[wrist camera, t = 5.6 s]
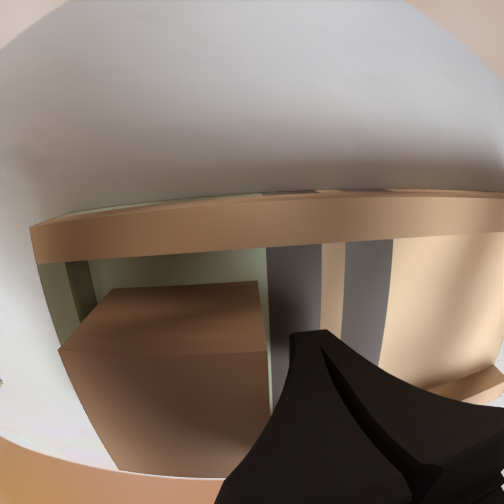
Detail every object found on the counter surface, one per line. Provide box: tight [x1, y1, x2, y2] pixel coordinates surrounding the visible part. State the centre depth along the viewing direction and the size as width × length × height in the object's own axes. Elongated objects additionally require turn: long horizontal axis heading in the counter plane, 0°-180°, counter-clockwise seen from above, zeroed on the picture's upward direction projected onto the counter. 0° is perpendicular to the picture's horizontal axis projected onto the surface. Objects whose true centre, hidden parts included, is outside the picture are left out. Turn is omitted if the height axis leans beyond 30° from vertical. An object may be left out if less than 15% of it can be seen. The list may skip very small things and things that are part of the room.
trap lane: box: [29, 189, 504, 417], centre depth 10 cm, size 20×10×2 cm, turn 94°
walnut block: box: [58, 280, 270, 478], centre depth 9 cm, size 5×5×4 cm
